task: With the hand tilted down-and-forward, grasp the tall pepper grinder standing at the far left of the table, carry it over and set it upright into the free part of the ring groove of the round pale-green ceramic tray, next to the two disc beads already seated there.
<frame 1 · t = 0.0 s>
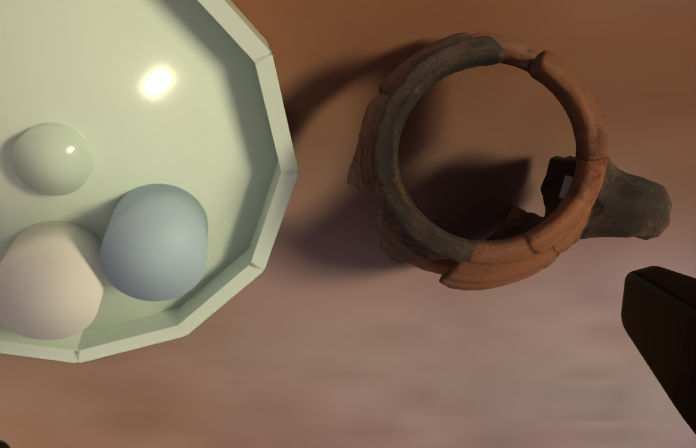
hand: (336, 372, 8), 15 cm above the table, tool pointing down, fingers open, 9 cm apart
green tray: (62, 147, 20), on the table
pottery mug: (471, 152, 24), on the table
blue disc bead: (160, 225, 21), point 1 cm above the table, touching green tray
cream disc bead: (61, 261, 21), point 1 cm above the table, touching green tray
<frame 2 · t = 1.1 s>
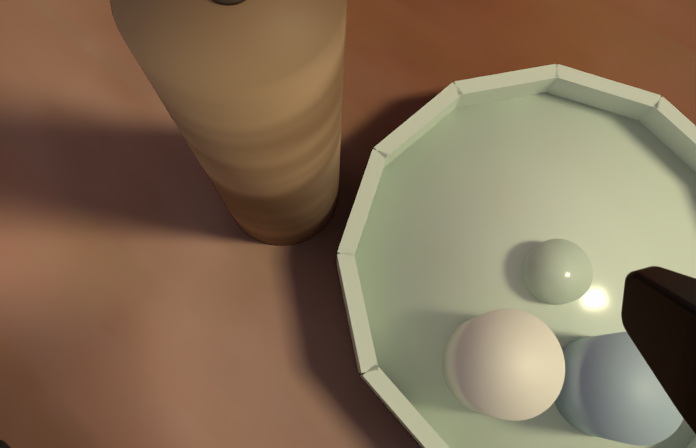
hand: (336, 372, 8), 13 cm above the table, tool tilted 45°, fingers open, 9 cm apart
pepper grinder: (283, 191, 23), on the table
green tray: (545, 277, 22), on the table
blue disc bead: (597, 385, 20), point 1 cm above the table, touching green tray
cream disc bead: (489, 364, 20), point 1 cm above the table, touching green tray
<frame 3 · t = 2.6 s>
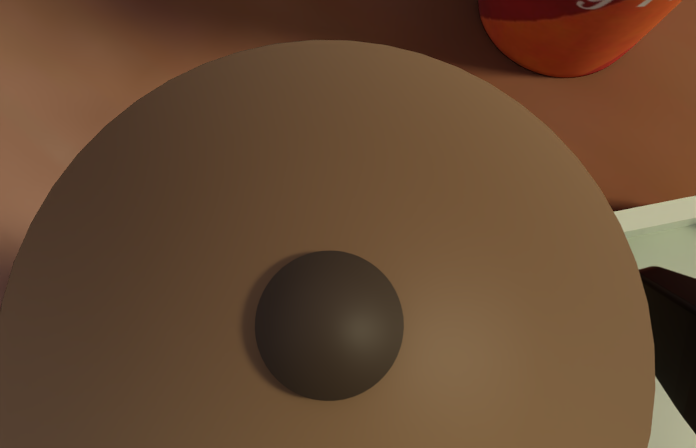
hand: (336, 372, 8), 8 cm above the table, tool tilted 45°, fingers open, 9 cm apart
paper cup: (556, 10, 20), on the table
pepper grinder: (331, 369, 16), on the table
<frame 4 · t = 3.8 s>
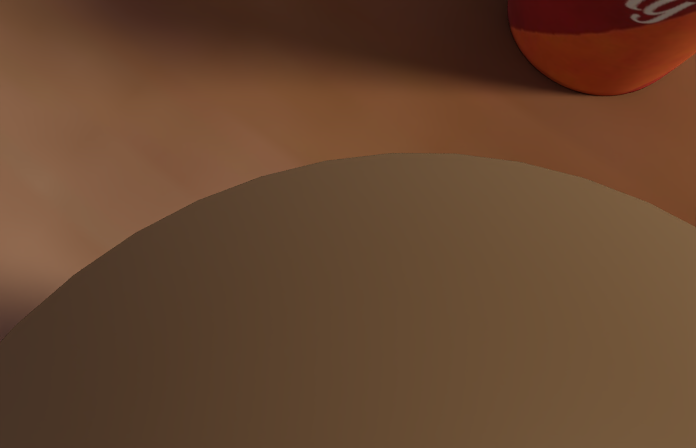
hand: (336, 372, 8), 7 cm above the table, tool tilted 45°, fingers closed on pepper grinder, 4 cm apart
paper cup: (593, 19, 18), on the table
pepper grinder: (347, 430, 14), on the table, touching gripper
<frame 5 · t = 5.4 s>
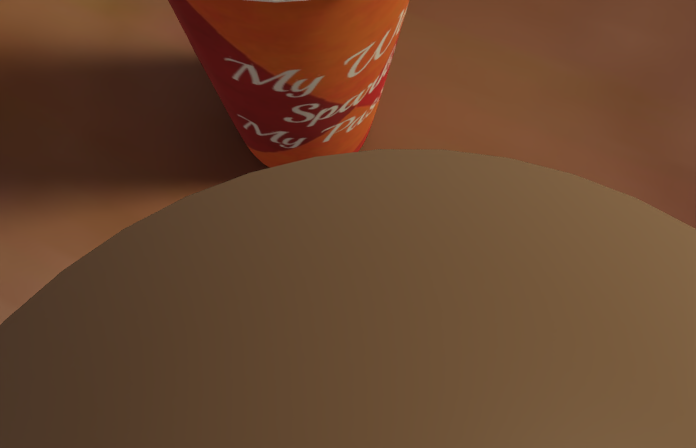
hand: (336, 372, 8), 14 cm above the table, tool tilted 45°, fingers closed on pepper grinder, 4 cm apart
paper cup: (306, 118, 24), on the table
pepper grinder: (345, 430, 14), point 7 cm above the table, touching gripper
when the fingers open (9 cm above the table, at t = 7.1 s): pepper grinder drops 1 cm, resting on green tray.
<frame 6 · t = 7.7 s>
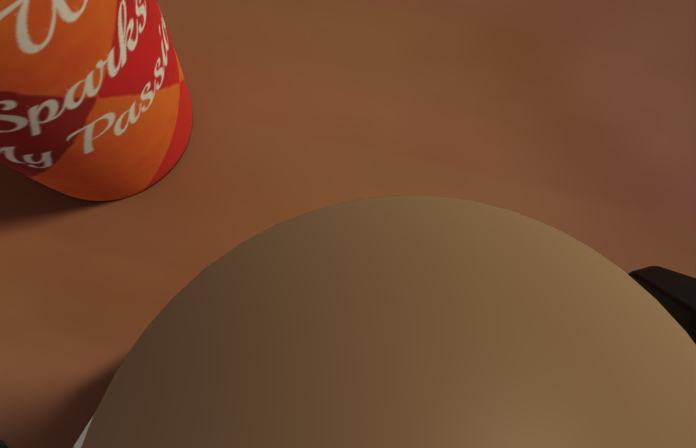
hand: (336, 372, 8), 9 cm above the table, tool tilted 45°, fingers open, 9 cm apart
paper cup: (113, 123, 19), on the table
pepper grinder: (346, 427, 15), point 1 cm above the table, touching green tray
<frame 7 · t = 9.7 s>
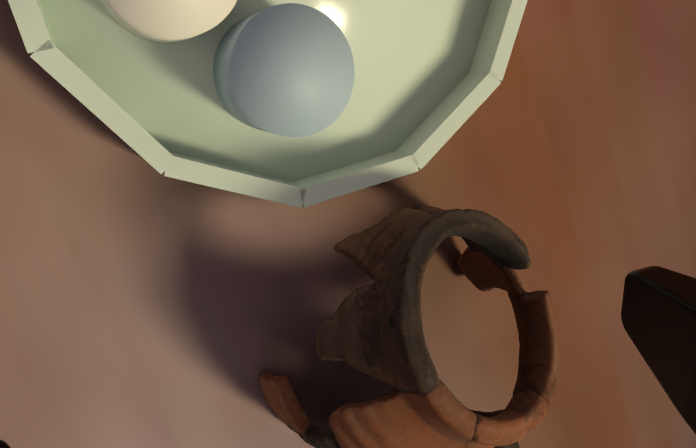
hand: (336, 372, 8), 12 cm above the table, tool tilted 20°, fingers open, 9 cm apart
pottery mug: (380, 338, 23), on the table
blue disc bead: (270, 73, 17), point 1 cm above the table, touching green tray
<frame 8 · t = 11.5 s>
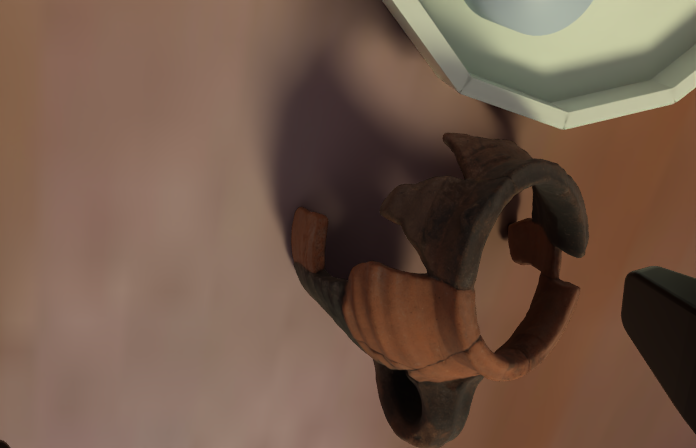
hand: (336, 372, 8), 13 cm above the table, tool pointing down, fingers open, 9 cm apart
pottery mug: (406, 246, 23), on the table
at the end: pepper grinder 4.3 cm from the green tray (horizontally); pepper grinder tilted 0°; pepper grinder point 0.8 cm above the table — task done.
